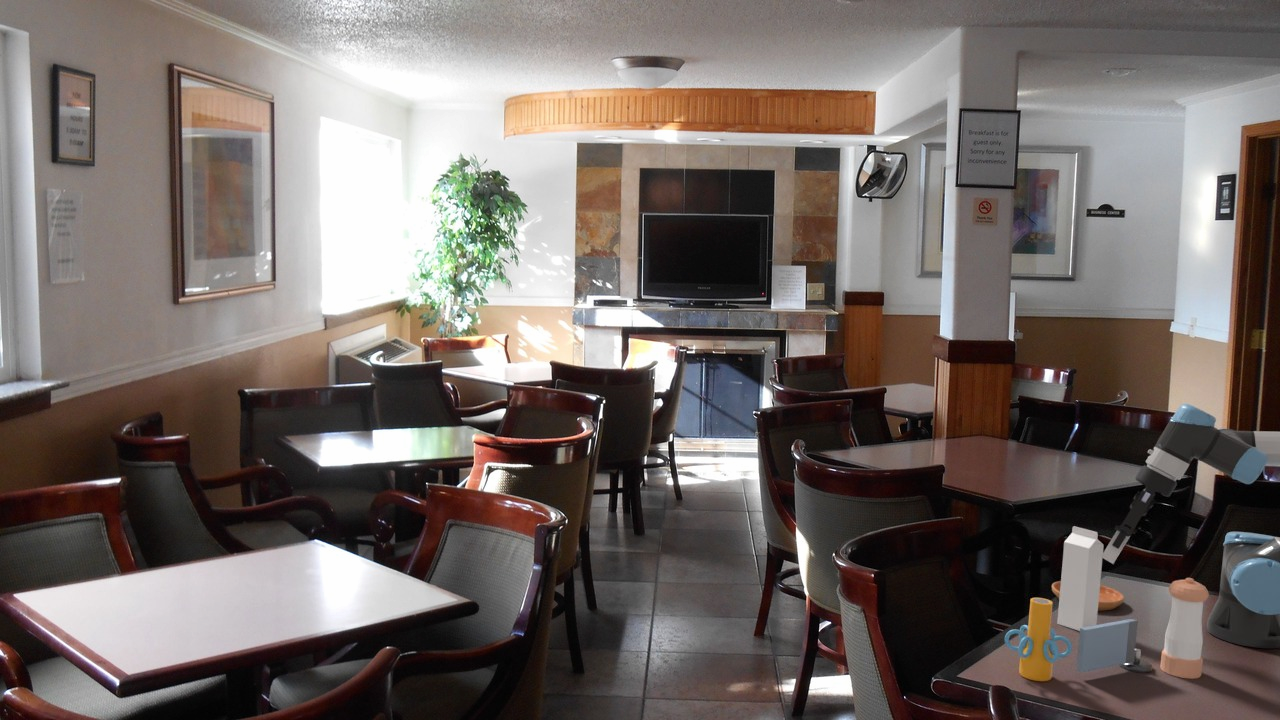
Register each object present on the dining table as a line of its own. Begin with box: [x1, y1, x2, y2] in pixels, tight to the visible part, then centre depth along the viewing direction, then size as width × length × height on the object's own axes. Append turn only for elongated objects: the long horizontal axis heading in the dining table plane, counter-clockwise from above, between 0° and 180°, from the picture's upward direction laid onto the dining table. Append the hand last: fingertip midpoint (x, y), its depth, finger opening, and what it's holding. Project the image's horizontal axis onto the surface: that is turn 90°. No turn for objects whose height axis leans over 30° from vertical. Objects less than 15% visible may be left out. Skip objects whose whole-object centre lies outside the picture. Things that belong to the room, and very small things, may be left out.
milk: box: [1057, 525, 1104, 632], centre depth 234 cm, size 6×6×22 cm
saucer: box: [1051, 580, 1125, 611], centre depth 253 cm, size 16×16×3 cm
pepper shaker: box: [1160, 577, 1210, 680], centre depth 210 cm, size 7×7×19 cm
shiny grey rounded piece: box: [1119, 647, 1153, 674], centre depth 212 cm, size 6×6×4 cm
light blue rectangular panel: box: [1075, 618, 1139, 674], centre depth 208 cm, size 15×1×8 cm, turn 117°
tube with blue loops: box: [1004, 597, 1073, 682], centre depth 205 cm, size 12×10×15 cm
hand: (1108, 557), depth 228 cm, fingers open, 13 cm apart
